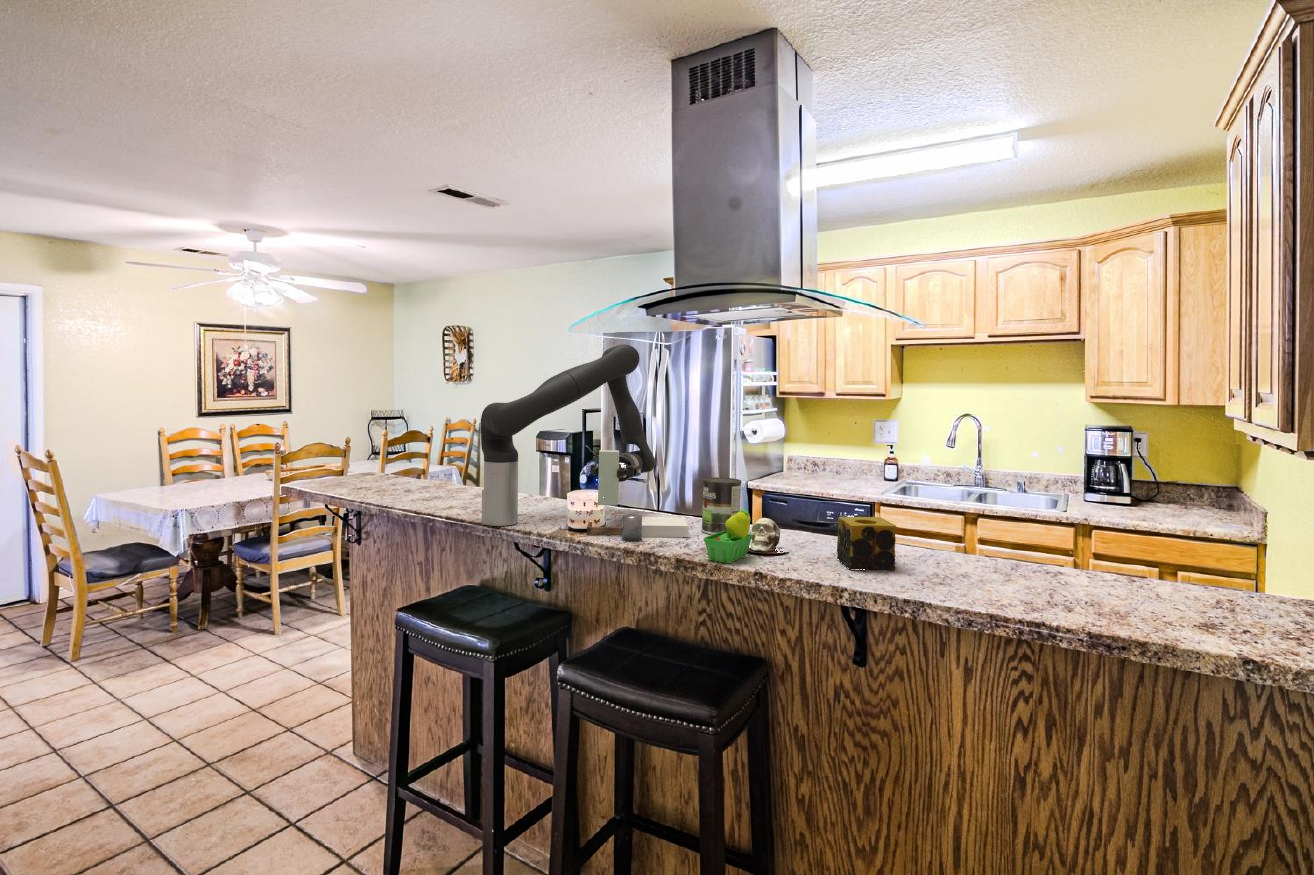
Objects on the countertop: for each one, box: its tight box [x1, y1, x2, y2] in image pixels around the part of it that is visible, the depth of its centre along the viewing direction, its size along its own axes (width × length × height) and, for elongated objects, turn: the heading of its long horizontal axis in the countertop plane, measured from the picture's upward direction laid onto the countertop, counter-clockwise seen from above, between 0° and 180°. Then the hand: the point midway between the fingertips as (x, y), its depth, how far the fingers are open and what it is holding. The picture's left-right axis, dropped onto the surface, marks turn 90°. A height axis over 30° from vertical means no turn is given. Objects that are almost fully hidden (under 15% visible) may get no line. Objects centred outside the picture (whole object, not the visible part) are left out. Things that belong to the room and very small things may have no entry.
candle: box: [836, 516, 897, 571], centre depth 151 cm, size 10×10×10 cm
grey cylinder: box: [621, 513, 643, 543], centre depth 172 cm, size 5×5×6 cm
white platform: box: [642, 516, 690, 538], centre depth 182 cm, size 13×12×3 cm
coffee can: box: [701, 477, 742, 535], centre depth 184 cm, size 10×10×14 cm
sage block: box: [597, 449, 620, 506], centre depth 181 cm, size 5×5×14 cm
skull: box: [747, 517, 783, 555], centre depth 164 cm, size 12×10×10 cm
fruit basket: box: [703, 509, 753, 564], centre depth 154 cm, size 11×9×11 cm
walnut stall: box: [586, 521, 622, 537], centre depth 182 cm, size 11×10×2 cm
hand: (606, 472), depth 179 cm, fingers closed on sage block, 6 cm apart
